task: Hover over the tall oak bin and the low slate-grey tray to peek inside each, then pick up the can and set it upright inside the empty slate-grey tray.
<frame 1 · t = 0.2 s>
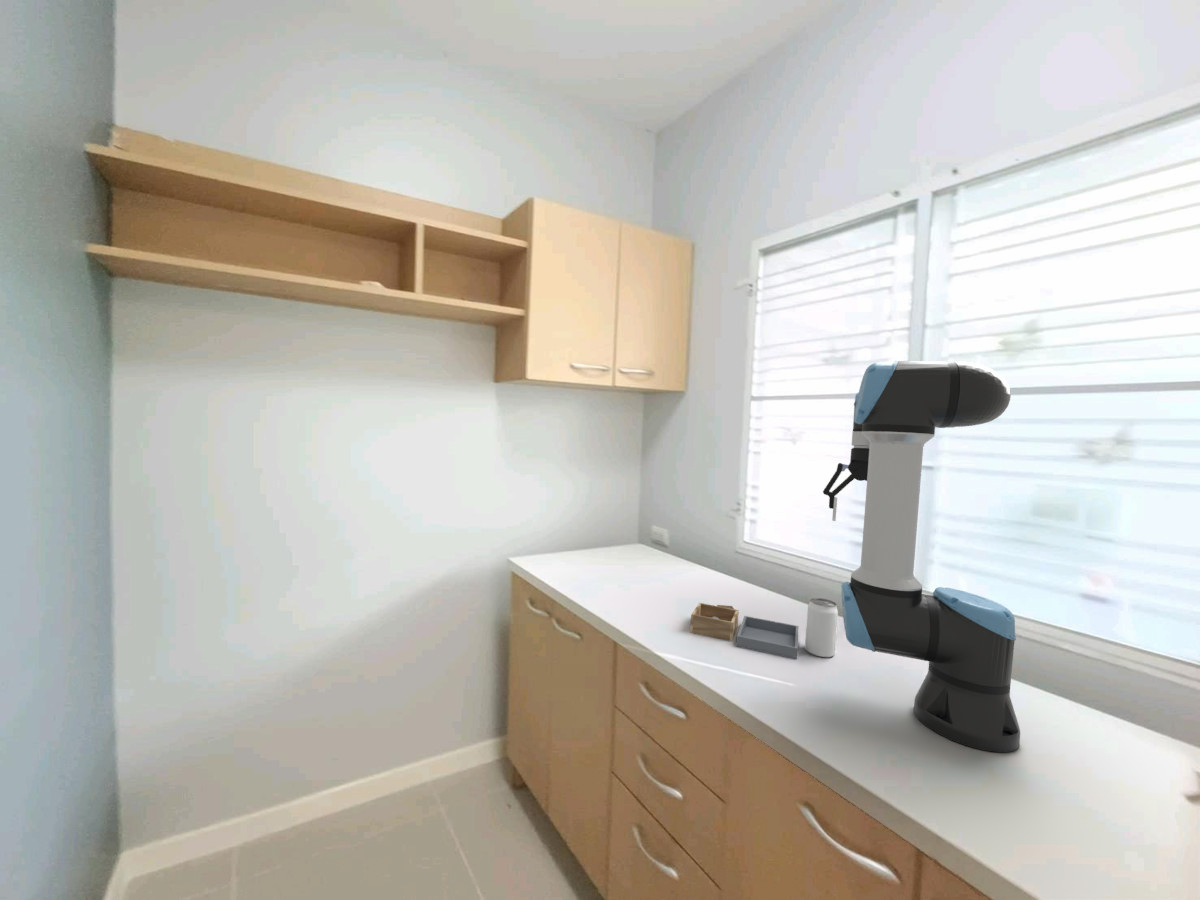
hand: (860, 523, 137), 28 cm above the worktop, fingers open, 13 cm apart
oak bin: (714, 631, 124), on the worktop
grey tray: (768, 643, 119), on the worktop
walnut block: (725, 622, 131), on the worktop
can: (819, 653, 116), on the worktop
ball: (714, 629, 124), point 1 cm above the worktop, touching oak bin
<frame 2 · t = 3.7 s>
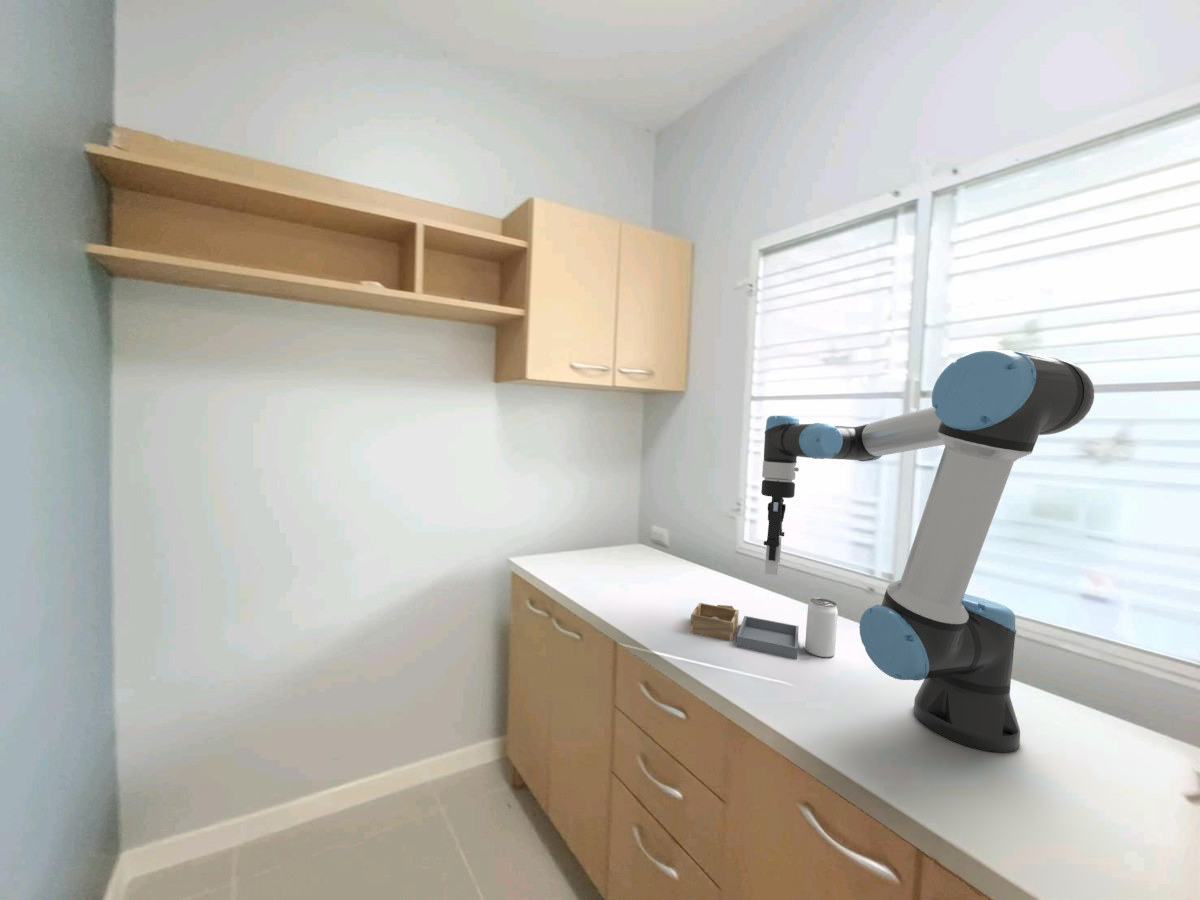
hand: (772, 567, 119), 18 cm above the worktop, fingers open, 13 cm apart
nothing on the worktop moved.
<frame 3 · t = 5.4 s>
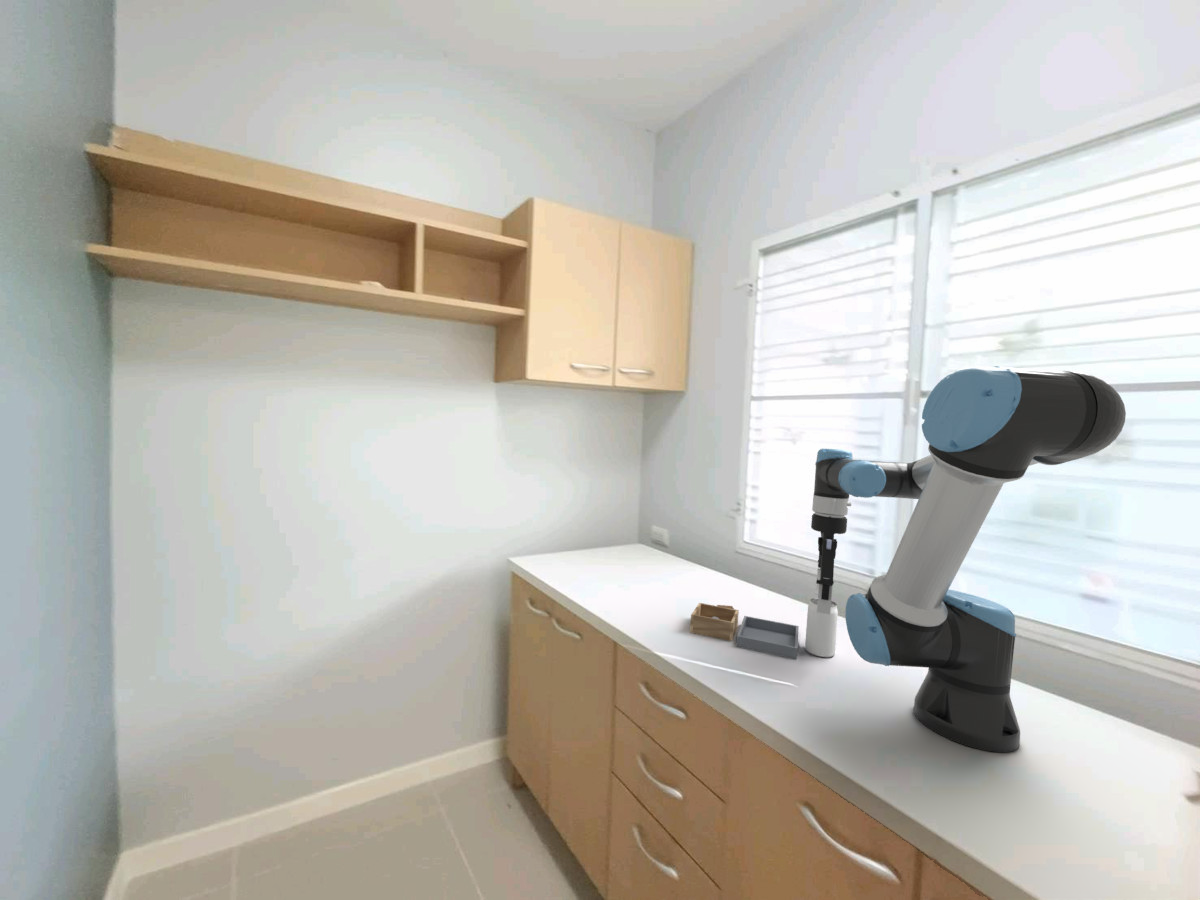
hand: (822, 603, 116), 11 cm above the worktop, fingers open, 13 cm apart
nothing on the worktop moved.
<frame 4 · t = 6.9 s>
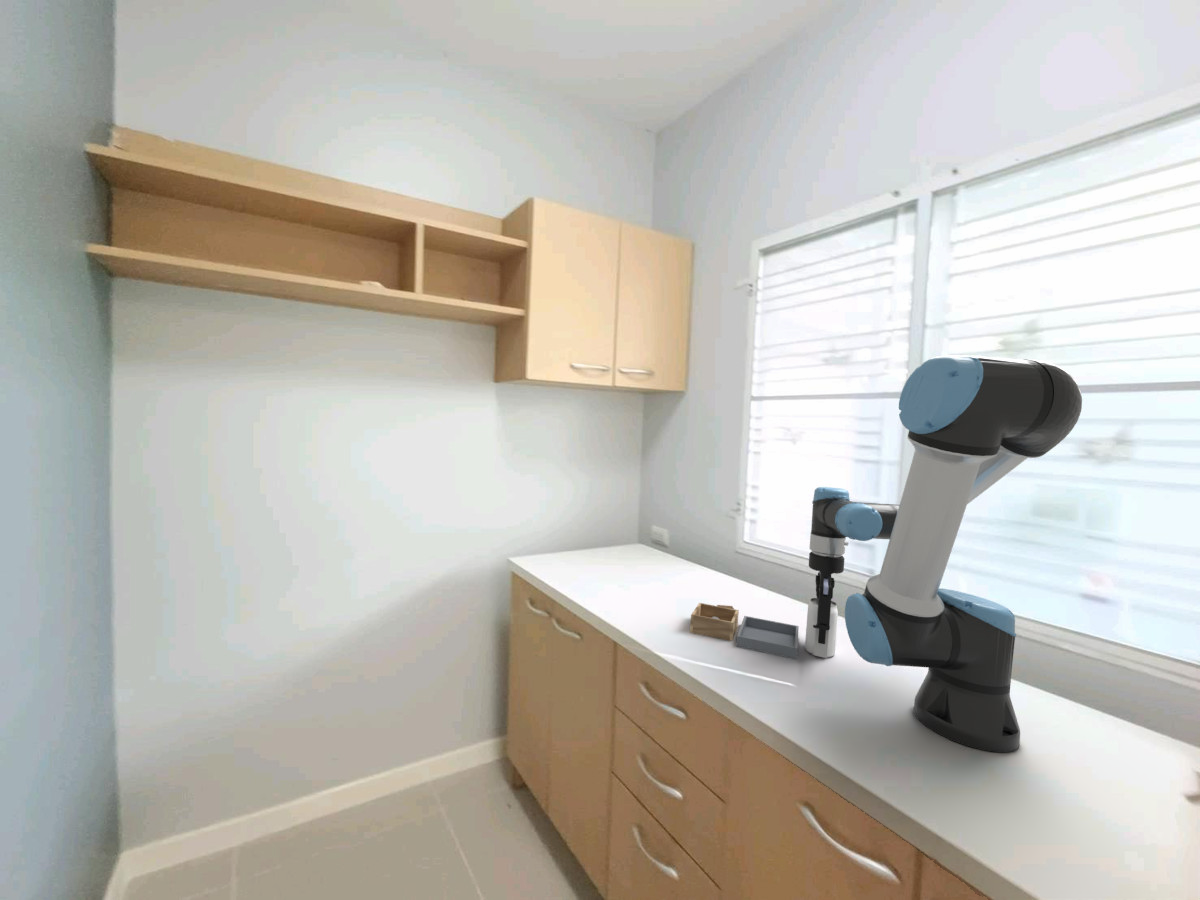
hand: (819, 650, 116), 0 cm above the worktop, fingers closed on can, 6 cm apart
can: (819, 653, 116), on the worktop, touching gripper
everything else where it was.
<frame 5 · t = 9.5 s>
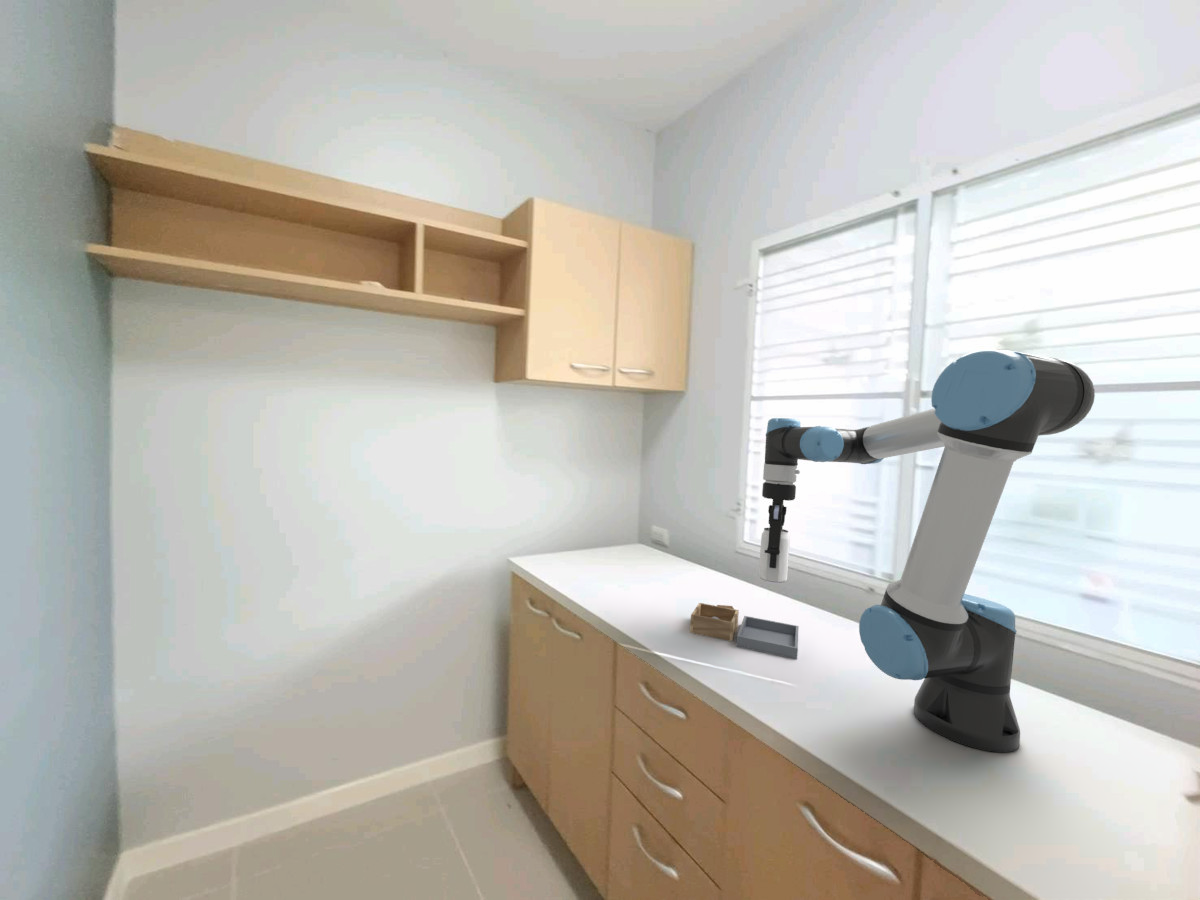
hand: (772, 577, 119), 16 cm above the worktop, fingers closed on can, 6 cm apart
can: (772, 579, 119), point 15 cm above the worktop, touching gripper
everything else where it was.
when the fingers open (3 cm above the worktop, at t = 12.1 s): can drops 2 cm, resting on grey tray.
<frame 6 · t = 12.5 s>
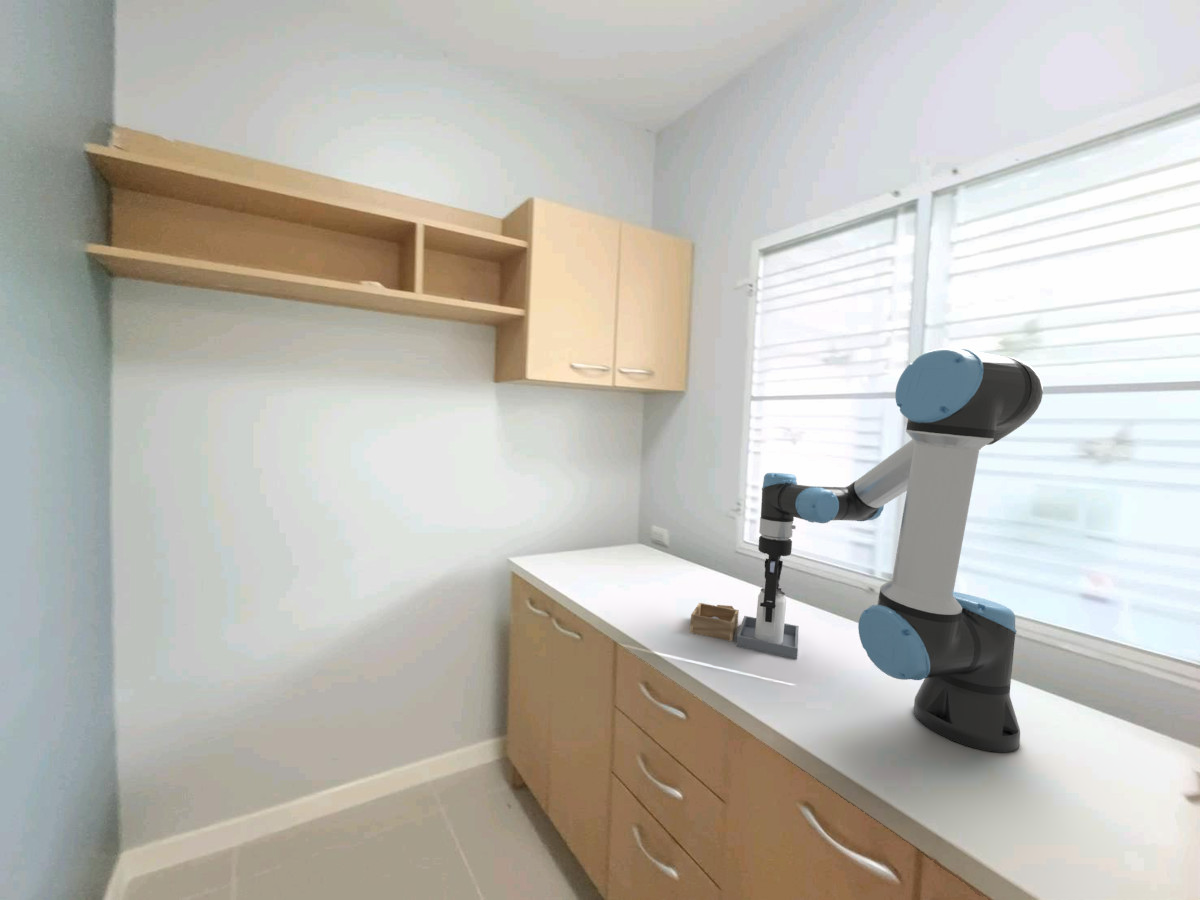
hand: (769, 625, 119), 4 cm above the worktop, fingers open, 11 cm apart
can: (768, 641, 119), resting on grey tray
everything else where it was.
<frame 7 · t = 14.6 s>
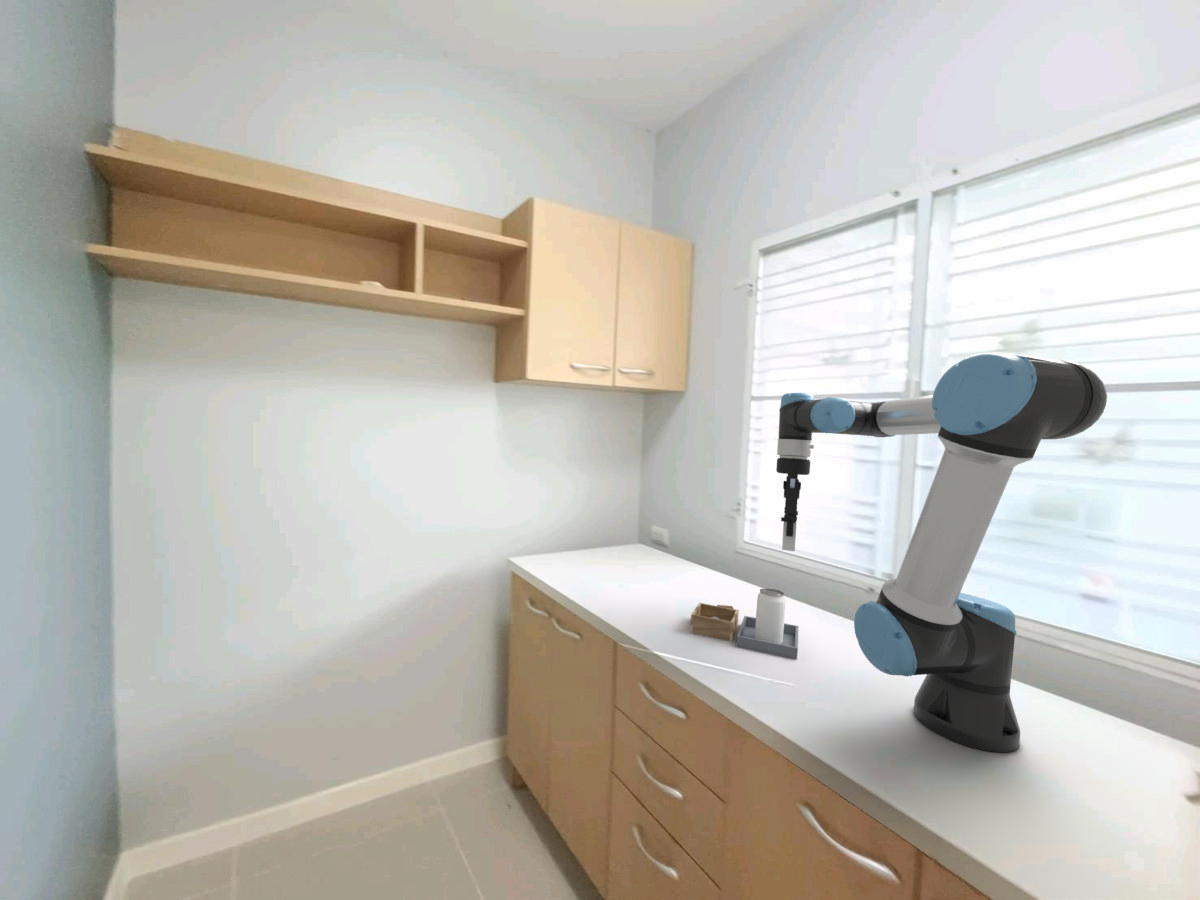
hand: (788, 545, 119), 24 cm above the worktop, fingers open, 13 cm apart
nothing on the worktop moved.
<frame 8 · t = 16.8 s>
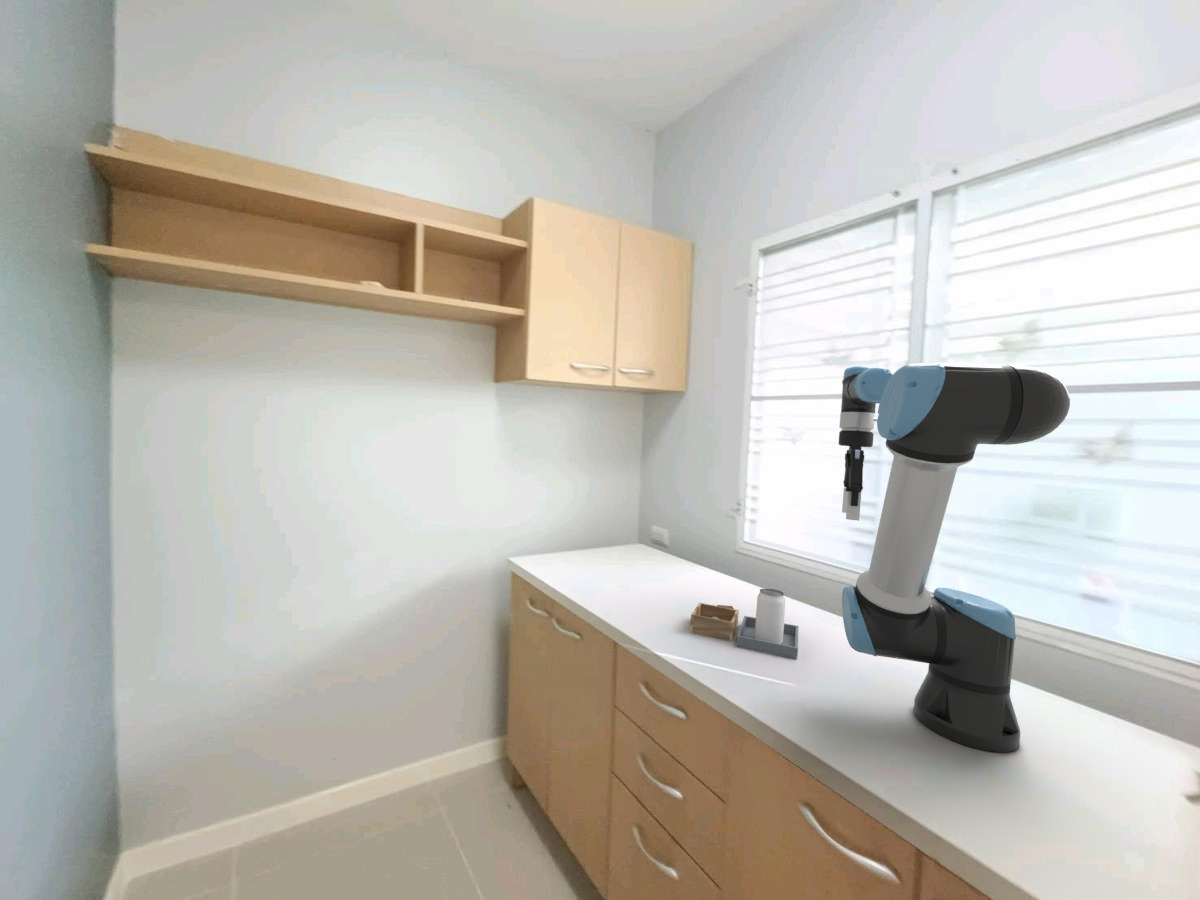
hand: (850, 516, 121), 32 cm above the worktop, fingers open, 13 cm apart
nothing on the worktop moved.
at the end: can inside the target area on the grey tray (0.1 cm from its centre), point 0.4 cm above the grey tray's base; can tilted 0°; the gripper is holding nothing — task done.
